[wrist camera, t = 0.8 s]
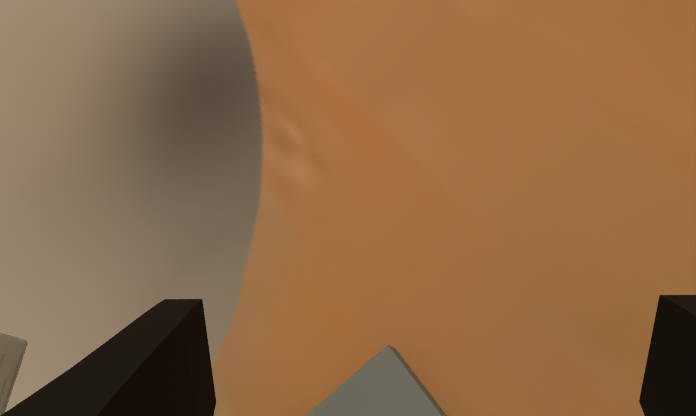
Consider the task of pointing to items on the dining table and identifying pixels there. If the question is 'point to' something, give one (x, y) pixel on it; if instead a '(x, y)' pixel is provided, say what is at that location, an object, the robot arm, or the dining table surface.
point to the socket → (381, 391)
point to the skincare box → (9, 365)
